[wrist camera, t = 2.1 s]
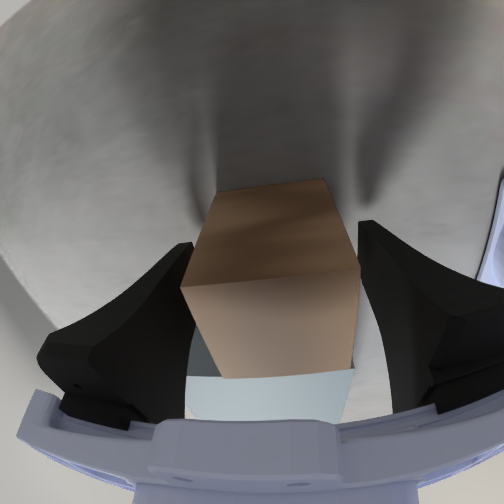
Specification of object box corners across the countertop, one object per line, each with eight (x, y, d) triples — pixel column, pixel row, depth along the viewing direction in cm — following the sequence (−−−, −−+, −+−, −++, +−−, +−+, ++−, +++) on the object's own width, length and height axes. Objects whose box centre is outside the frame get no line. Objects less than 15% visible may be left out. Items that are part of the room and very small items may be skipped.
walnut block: (322, 178, 12) (360, 267, 7) (327, 264, 14) (350, 368, 9) (216, 192, 12) (179, 287, 7) (238, 274, 15) (223, 378, 10)
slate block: (342, 312, 16) (354, 368, 13) (332, 391, 22) (336, 432, 19) (179, 321, 18) (163, 374, 14) (216, 396, 23) (210, 436, 20)
